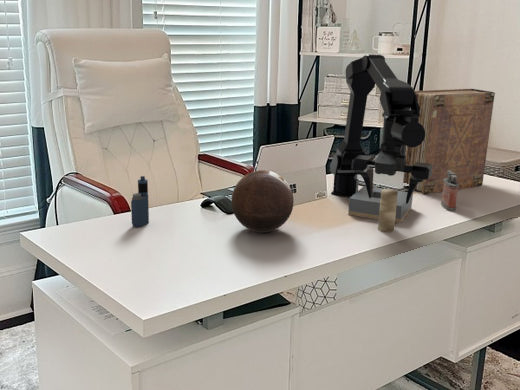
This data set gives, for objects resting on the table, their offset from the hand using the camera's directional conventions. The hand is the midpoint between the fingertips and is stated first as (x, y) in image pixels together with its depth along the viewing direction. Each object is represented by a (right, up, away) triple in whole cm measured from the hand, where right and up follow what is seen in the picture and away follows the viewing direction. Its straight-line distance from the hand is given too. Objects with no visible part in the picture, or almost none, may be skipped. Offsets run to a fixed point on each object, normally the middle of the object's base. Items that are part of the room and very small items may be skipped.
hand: (388, 200), depth 152 cm
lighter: (+22, -2, +22) cm, 31 cm away
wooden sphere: (-31, -7, -1) cm, 32 cm away
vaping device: (-61, -6, 0) cm, 62 cm away
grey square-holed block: (+1, -3, +16) cm, 17 cm away
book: (+26, +4, +43) cm, 51 cm away
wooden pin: (0, -7, +2) cm, 8 cm away
